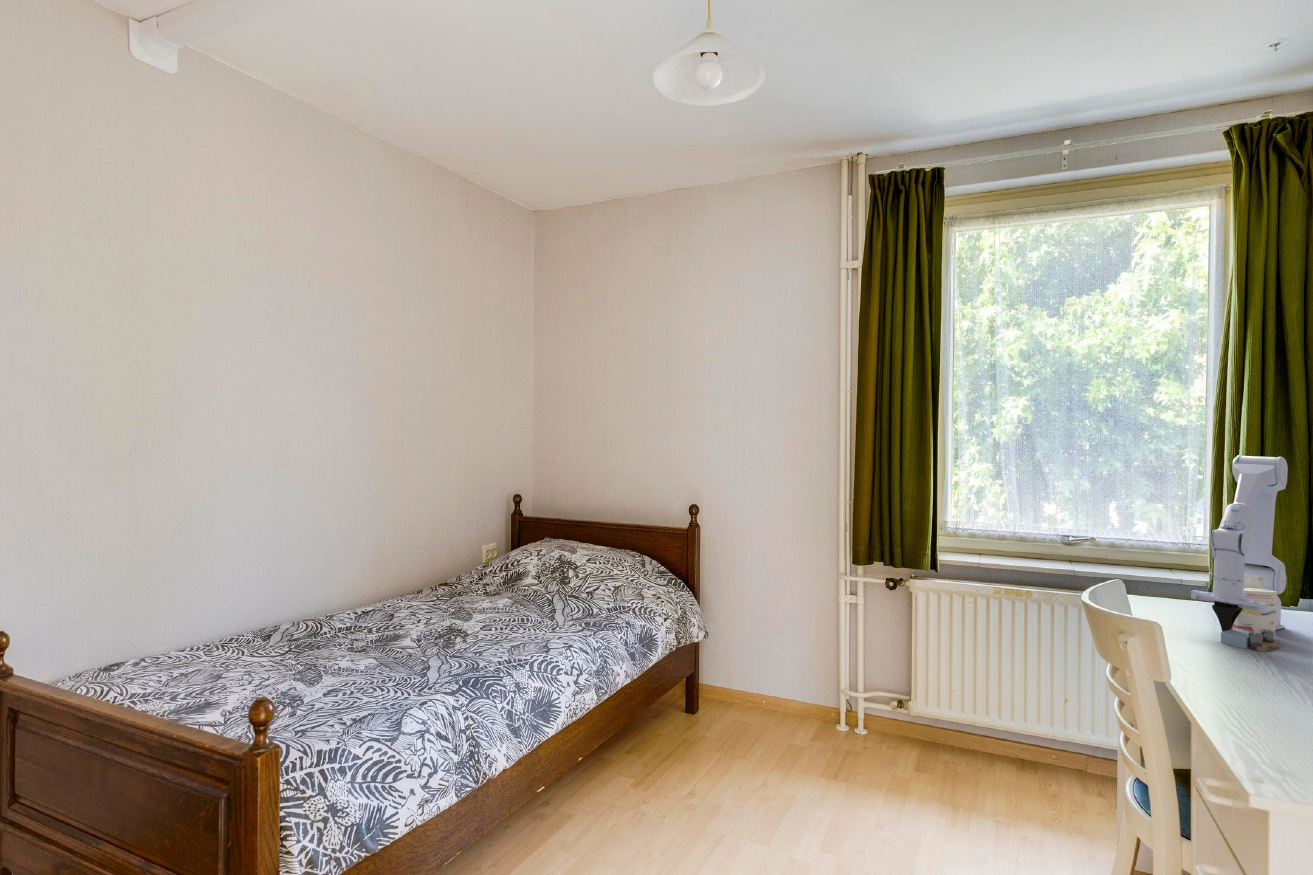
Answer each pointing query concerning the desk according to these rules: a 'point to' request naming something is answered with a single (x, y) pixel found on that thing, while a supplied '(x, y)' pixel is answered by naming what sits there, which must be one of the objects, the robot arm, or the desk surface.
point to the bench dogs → (1262, 641)
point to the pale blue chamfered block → (1236, 637)
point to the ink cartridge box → (1253, 618)
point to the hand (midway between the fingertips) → (1226, 634)
